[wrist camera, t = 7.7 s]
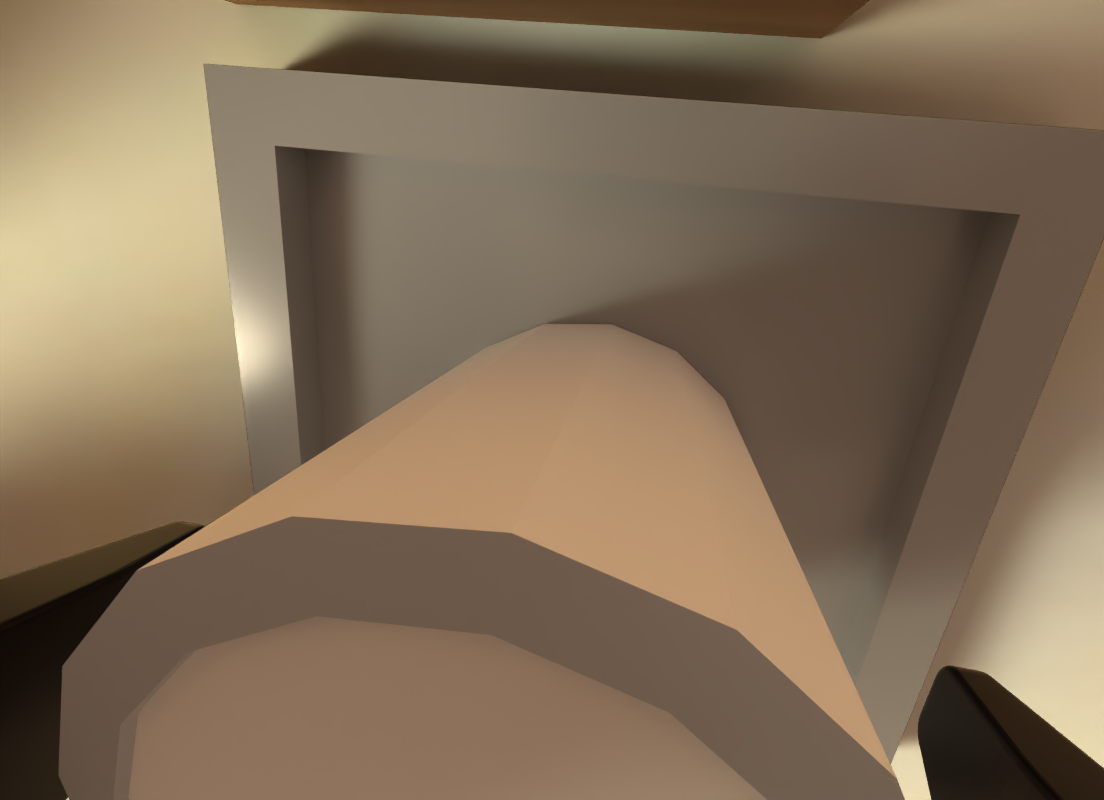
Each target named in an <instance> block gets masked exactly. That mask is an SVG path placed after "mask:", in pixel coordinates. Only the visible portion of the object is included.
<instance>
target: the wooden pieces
mask: <svg viewBox="0 0 1104 800" xmlns="http://www.w3.org/2000/svg"><path fill="white" fill-rule="evenodd" d="M226 1H229V2H232V3H235V4H246V5H263V6H280V7H297V8H314V9H331V10H348V11H365V12H382V13H399V14H416V15H433V16H450V17H467V18H484V19H501V20H518V21H535V22H552V23H569V24H586V25H603V26H620V27H637V28H654V29H672V30H689V31H706V32H723V33H740V34H757V35H774V36H791V37H808V38H822V37H824V36H825V35H826V34H827V33H829V32H830V31H831V30H833V29H834V28H835V27H836V26H838V25H839V24H840V23H841V22H843V21H844V20H845V19H847V18H848V17H849V16H850V15H852V14H853V13H854V12H855V11H857V10H858V9H859V8H861V7H862V6H863V5H864V4H866V3H867V2H868V1H869V0H226Z"/></svg>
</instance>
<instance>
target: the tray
mask: <svg viewBox="0 0 1104 800" xmlns="http://www.w3.org/2000/svg"><path fill="white" fill-rule="evenodd" d="M204 73H205V81H206V90H207V98H208V107H209V115H210V124H211V132H212V141H213V149H214V158H215V166H216V175H217V183H218V192H219V200H220V209H221V217H222V226H223V234H224V243H225V251H226V260H227V268H228V277H229V285H230V294H231V302H232V311H233V319H234V328H235V336H236V345H237V353H238V362H239V370H240V379H241V387H242V396H243V404H244V413H245V421H246V430H247V438H248V447H249V455H250V464H251V472H252V481H253V489H254V495H256V494H257V493H259V492H260V491H262V490H264V489H265V488H267V487H268V486H270V485H271V484H273V483H275V482H276V481H278V480H279V479H281V478H282V477H284V476H286V475H287V474H289V473H290V472H292V471H293V470H295V469H296V468H298V467H300V466H301V465H303V464H304V463H306V462H307V461H309V460H311V459H312V458H314V457H315V456H317V455H318V454H320V453H322V452H323V451H325V450H326V449H328V448H329V447H331V446H333V445H334V444H336V443H337V442H339V441H340V440H342V439H344V438H345V437H347V436H348V435H350V434H351V433H353V432H354V431H356V430H358V429H359V428H361V427H362V426H364V425H365V424H367V423H369V422H370V421H372V420H373V419H375V418H376V417H378V416H380V415H381V414H383V413H384V412H386V411H387V410H389V409H391V408H392V407H394V406H395V405H397V404H398V403H400V402H402V401H403V400H405V399H406V398H408V397H409V396H411V395H412V394H414V393H416V392H417V391H419V390H420V389H422V388H423V387H425V386H427V385H428V384H430V383H431V382H433V381H434V380H436V379H438V378H439V377H441V376H442V375H444V374H445V373H447V372H449V371H450V370H452V369H453V368H455V367H456V366H458V365H460V364H461V363H463V362H464V361H466V360H467V359H469V358H470V357H472V356H474V355H475V354H477V353H478V352H480V351H481V350H483V349H485V348H486V347H489V346H491V345H493V344H496V343H498V342H501V341H503V340H506V339H508V338H511V337H513V336H515V335H518V334H520V333H523V332H525V331H528V330H530V329H533V328H535V327H538V326H540V325H542V324H613V325H615V326H617V327H620V328H622V329H625V330H627V331H630V332H632V333H634V334H637V335H639V336H642V337H644V338H646V339H649V340H651V341H654V342H656V343H658V344H661V345H663V346H666V347H668V348H670V349H673V350H675V351H677V352H678V353H679V354H680V355H681V356H682V357H683V358H684V359H685V360H686V361H687V362H688V363H689V364H690V365H691V366H692V367H693V368H694V369H695V370H696V371H697V372H698V373H699V374H700V375H701V376H702V377H703V378H704V379H705V380H706V381H707V382H708V383H709V384H710V385H711V386H712V387H713V388H714V389H715V390H716V391H717V392H718V393H719V394H720V395H721V396H722V397H723V398H724V399H725V401H726V404H727V406H728V408H729V410H730V412H731V415H732V417H733V419H734V421H735V423H736V426H737V428H738V430H739V432H740V434H741V437H742V439H743V441H744V443H745V445H746V448H747V450H748V452H749V454H750V456H751V459H752V461H753V463H754V465H755V467H756V470H757V472H758V474H759V476H760V478H761V481H762V483H763V485H764V487H765V489H766V492H767V494H768V496H769V498H770V500H771V503H772V505H773V507H774V509H775V511H776V514H777V516H778V518H779V520H780V522H781V525H782V527H783V529H784V531H785V533H786V536H787V538H788V540H789V542H790V545H791V547H792V549H793V551H794V553H795V556H796V558H797V560H798V562H799V564H800V567H801V569H802V571H803V573H804V575H805V578H806V580H807V582H808V584H809V586H810V589H811V591H812V593H813V595H814V597H815V600H816V602H817V604H818V606H819V608H820V611H821V613H822V615H823V617H824V619H825V622H826V624H827V626H828V628H829V630H830V633H831V635H832V637H833V639H834V641H835V644H836V646H837V648H838V650H839V652H840V655H841V657H842V659H843V661H844V663H845V666H846V668H847V670H848V672H849V674H850V677H851V679H852V681H853V683H854V685H855V688H856V690H857V692H858V694H859V696H860V699H861V701H862V703H863V705H864V708H865V710H866V712H867V714H868V716H869V719H870V721H871V723H872V725H873V727H874V730H875V732H876V734H877V736H878V738H879V741H880V743H881V745H882V747H883V749H884V752H885V754H886V756H887V758H888V760H889V763H890V765H891V762H892V760H893V757H894V755H895V752H896V750H897V747H898V745H899V742H900V740H901V737H902V735H903V732H904V730H905V728H906V725H907V723H908V720H909V718H910V715H911V713H912V710H913V708H914V705H915V703H916V700H917V698H918V695H919V693H920V690H921V688H922V686H923V683H924V681H925V678H926V676H927V673H928V671H929V668H930V666H931V663H932V661H933V658H934V656H935V653H936V651H937V649H938V646H939V644H940V641H941V639H942V636H943V634H944V631H945V629H946V626H947V624H948V621H949V619H950V616H951V614H952V611H953V609H954V607H955V604H956V602H957V599H958V597H959V594H960V592H961V589H962V587H963V584H964V582H965V579H966V577H967V574H968V572H969V570H970V567H971V565H972V562H973V560H974V557H975V555H976V552H977V550H978V547H979V545H980V542H981V540H982V537H983V535H984V532H985V530H986V528H987V525H988V523H989V520H990V518H991V515H992V513H993V510H994V508H995V505H996V503H997V500H998V498H999V495H1000V493H1001V491H1002V488H1003V486H1004V483H1005V481H1006V478H1007V476H1008V473H1009V471H1010V468H1011V466H1012V463H1013V461H1014V458H1015V456H1016V453H1017V451H1018V449H1019V446H1020V444H1021V441H1022V439H1023V436H1024V434H1025V431H1026V429H1027V426H1028V424H1029V421H1030V419H1031V416H1032V414H1033V412H1034V409H1035V407H1036V404H1037V402H1038V399H1039V397H1040V394H1041V392H1042V389H1043V387H1044V384H1045V382H1046V379H1047V377H1048V374H1049V372H1050V370H1051V367H1052V365H1053V362H1054V360H1055V357H1056V355H1057V352H1058V350H1059V347H1060V345H1061V342H1062V340H1063V337H1064V335H1065V333H1066V330H1067V328H1068V325H1069V323H1070V320H1071V318H1072V315H1073V313H1074V310H1075V308H1076V305H1077V303H1078V300H1079V298H1080V295H1081V293H1082V291H1083V288H1084V286H1085V283H1086V281H1087V278H1088V276H1089V273H1090V271H1091V268H1092V266H1093V263H1094V261H1095V258H1096V256H1097V254H1098V251H1099V249H1100V246H1101V244H1102V241H1103V239H1104V130H1094V129H1081V128H1067V127H1054V126H1040V125H1027V124H1013V123H999V122H986V121H972V120H959V119H945V118H932V117H918V116H905V115H891V114H878V113H864V112H851V111H837V110H824V109H810V108H797V107H783V106H770V105H756V104H742V103H729V102H715V101H702V100H688V99H675V98H661V97H648V96H634V95H621V94H607V93H594V92H580V91H567V90H553V89H540V88H526V87H512V86H499V85H485V84H472V83H458V82H445V81H431V80H418V79H404V78H391V77H377V76H364V75H350V74H337V73H323V72H310V71H296V70H282V69H269V68H255V67H242V66H228V65H215V64H204Z"/></svg>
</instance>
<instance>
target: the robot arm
mask: <svg viewBox="0 0 1104 800" xmlns="http://www.w3.org/2000/svg"><path fill="white" fill-rule="evenodd" d="M204 527H206V526H204V525H199V524H194V523H188V522H175V523H172V524H169V525H166V526H162V527H159V528H156V529H153V530H150V531H147V532H144V533H141V534H138V535H135V536H132V537H129V538H125V539H122V540H119V541H116V542H113V543H110V544H107V545H104V546H101V547H98V548H95V549H92V550H89V551H85V552H82V553H79V554H76V555H73V556H70V557H67V558H64V559H61V560H58V561H55V562H52V563H48V564H45V565H42V566H39V567H36V568H33V569H30V570H27V571H24V572H21V573H18V574H15V575H12V576H8V577H5V578H2V579H0V800H66V799H67V798H68V795H67V793H66V791H65V789H64V786H63V784H62V782H61V780H60V777H59V775H58V773H59V745H60V718H61V690H62V666H63V665H64V663H65V662H66V661H67V659H68V658H69V657H70V656H71V654H72V653H73V652H74V650H75V649H76V648H77V647H78V645H79V644H80V643H81V641H82V640H83V639H84V638H85V636H86V635H87V634H88V632H89V631H90V630H91V629H92V627H93V626H94V625H95V623H96V622H97V621H98V620H99V618H100V617H101V616H102V614H103V613H104V612H105V611H106V609H107V608H108V607H109V605H110V604H111V603H112V601H113V600H114V599H115V598H116V596H117V595H118V594H119V592H120V591H121V590H122V589H123V587H124V586H125V585H126V583H127V582H128V581H129V580H130V578H131V577H132V576H133V574H134V573H135V572H136V571H137V570H138V569H140V568H141V567H143V566H144V565H146V564H148V563H149V562H151V561H152V560H154V559H155V558H157V557H159V556H160V555H162V554H163V553H165V552H166V551H168V550H170V549H171V548H173V547H174V546H176V545H177V544H179V543H181V542H182V541H184V540H185V539H187V538H188V537H190V536H191V535H193V534H195V533H196V532H198V531H199V530H201V529H202V528H204ZM918 739H919V745H920V749H921V754H922V758H923V763H924V768H925V772H926V777H927V781H928V786H929V791H930V795H931V800H1104V768H1103V767H1102V766H1100V765H1099V764H1098V763H1097V762H1095V761H1094V760H1093V759H1092V758H1091V757H1089V756H1088V755H1087V754H1086V753H1084V752H1083V751H1082V750H1081V749H1079V748H1078V747H1077V746H1076V745H1075V744H1073V743H1072V742H1071V741H1070V740H1068V739H1067V738H1066V737H1065V736H1063V735H1062V734H1061V733H1060V732H1059V731H1057V730H1056V729H1055V728H1054V727H1052V726H1051V725H1050V724H1049V723H1047V722H1046V721H1045V720H1044V719H1043V718H1041V717H1040V716H1039V715H1038V714H1036V713H1035V712H1034V711H1033V710H1032V709H1030V708H1029V707H1028V706H1027V705H1025V704H1024V703H1023V702H1022V701H1020V700H1019V699H1018V698H1017V697H1016V696H1014V695H1013V694H1012V693H1011V692H1009V691H1008V690H1007V689H1006V688H1004V687H1003V686H1002V685H1001V684H1000V683H998V682H997V681H996V680H995V679H993V678H992V677H991V676H989V675H988V674H986V673H984V672H981V671H977V670H972V669H966V668H961V667H956V666H945V667H943V668H942V669H941V670H940V671H939V672H938V674H937V676H936V678H935V680H934V683H933V685H932V688H931V690H930V692H929V695H928V697H927V700H926V702H925V705H924V707H923V709H922V712H921V714H920V717H919V722H918Z"/></svg>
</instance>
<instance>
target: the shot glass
mask: <svg viewBox="0 0 1104 800" xmlns="http://www.w3.org/2000/svg"><path fill="white" fill-rule="evenodd" d="M58 775H59V777H60V780H61V782H62V784H63V786H64V789H65V791H66V793H67V795H68V797H69V800H905V799H904V797H903V794H902V791H901V789H900V786H899V783H898V780H897V778H896V776H895V774H894V771H893V769H892V767H891V765H890V763H889V760H888V758H887V756H886V754H885V752H884V749H883V747H882V745H881V743H880V741H879V738H878V736H877V734H876V732H875V730H874V727H873V725H872V723H871V721H870V719H869V716H868V714H867V712H866V710H865V708H864V705H863V703H862V701H861V699H860V696H859V694H858V692H857V690H856V688H855V685H854V683H853V681H852V679H851V677H850V674H849V672H848V670H847V668H846V666H845V663H844V661H843V659H842V657H841V655H840V652H839V650H838V648H837V646H836V644H835V641H834V639H833V637H832V635H831V633H830V630H829V628H828V626H827V624H826V622H825V619H824V617H823V615H822V613H821V611H820V608H819V606H818V604H817V602H816V600H815V597H814V595H813V593H812V591H811V589H810V586H809V584H808V582H807V580H806V578H805V575H804V573H803V571H802V569H801V567H800V564H799V562H798V560H797V558H796V556H795V553H794V551H793V549H792V547H791V545H790V542H789V540H788V538H787V536H786V533H785V531H784V529H783V527H782V525H781V522H780V520H779V518H778V516H777V514H776V511H775V509H774V507H773V505H772V503H771V500H770V498H769V496H768V494H767V492H766V489H765V487H764V485H763V483H762V481H761V478H760V476H759V474H758V472H757V470H756V467H755V465H754V463H753V461H752V459H751V456H750V454H749V452H748V450H747V448H746V445H745V443H744V441H743V439H742V437H741V434H740V432H739V430H738V428H737V426H736V423H735V421H734V419H733V417H732V415H731V412H730V410H729V408H728V406H727V404H726V401H725V399H724V398H723V397H722V396H721V395H720V394H719V393H718V392H717V391H716V390H715V389H714V388H713V387H712V386H711V385H710V384H709V383H708V382H707V381H706V380H705V379H704V378H703V377H702V376H701V375H700V374H699V373H698V372H697V371H696V370H695V369H694V368H693V367H692V366H691V365H690V364H689V363H688V362H687V361H686V360H685V359H684V358H683V357H682V356H681V355H680V354H679V353H678V352H677V351H675V350H673V349H670V348H668V347H666V346H663V345H661V344H658V343H656V342H654V341H651V340H649V339H646V338H644V337H642V336H639V335H637V334H634V333H632V332H630V331H627V330H625V329H622V328H620V327H617V326H615V325H613V324H542V325H540V326H538V327H535V328H533V329H530V330H528V331H525V332H523V333H520V334H518V335H515V336H513V337H511V338H508V339H506V340H503V341H501V342H498V343H496V344H493V345H491V346H489V347H486V348H485V349H483V350H481V351H480V352H478V353H477V354H475V355H474V356H472V357H470V358H469V359H467V360H466V361H464V362H463V363H461V364H460V365H458V366H456V367H455V368H453V369H452V370H450V371H449V372H447V373H445V374H444V375H442V376H441V377H439V378H438V379H436V380H434V381H433V382H431V383H430V384H428V385H427V386H425V387H423V388H422V389H420V390H419V391H417V392H416V393H414V394H412V395H411V396H409V397H408V398H406V399H405V400H403V401H402V402H400V403H398V404H397V405H395V406H394V407H392V408H391V409H389V410H387V411H386V412H384V413H383V414H381V415H380V416H378V417H376V418H375V419H373V420H372V421H370V422H369V423H367V424H365V425H364V426H362V427H361V428H359V429H358V430H356V431H354V432H353V433H351V434H350V435H348V436H347V437H345V438H344V439H342V440H340V441H339V442H337V443H336V444H334V445H333V446H331V447H329V448H328V449H326V450H325V451H323V452H322V453H320V454H318V455H317V456H315V457H314V458H312V459H311V460H309V461H307V462H306V463H304V464H303V465H301V466H300V467H298V468H296V469H295V470H293V471H292V472H290V473H289V474H287V475H286V476H284V477H282V478H281V479H279V480H278V481H276V482H275V483H273V484H271V485H270V486H268V487H267V488H265V489H264V490H262V491H260V492H259V493H257V494H256V495H254V496H253V497H251V498H249V499H248V500H246V501H245V502H243V503H242V504H240V505H238V506H237V507H235V508H234V509H232V510H231V511H229V512H228V513H226V514H224V515H223V516H221V517H220V518H218V519H217V520H215V521H213V522H212V523H210V524H209V525H207V526H206V527H204V528H202V529H201V530H199V531H198V532H196V533H195V534H193V535H191V536H190V537H188V538H187V539H185V540H184V541H182V542H181V543H179V544H177V545H176V546H174V547H173V548H171V549H170V550H168V551H166V552H165V553H163V554H162V555H160V556H159V557H157V558H155V559H154V560H152V561H151V562H149V563H148V564H146V565H144V566H143V567H141V568H140V569H138V570H137V571H136V572H135V573H134V574H133V576H132V577H131V578H130V580H129V581H128V582H127V583H126V585H125V586H124V587H123V589H122V590H121V591H120V592H119V594H118V595H117V596H116V598H115V599H114V600H113V601H112V603H111V604H110V605H109V607H108V608H107V609H106V611H105V612H104V613H103V614H102V616H101V617H100V618H99V620H98V621H97V622H96V623H95V625H94V626H93V627H92V629H91V630H90V631H89V632H88V634H87V635H86V636H85V638H84V639H83V640H82V641H81V643H80V644H79V645H78V647H77V648H76V649H75V650H74V652H73V653H72V654H71V656H70V657H69V658H68V659H67V661H66V662H65V663H64V665H63V666H62V690H61V718H60V745H59V773H58Z"/></svg>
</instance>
